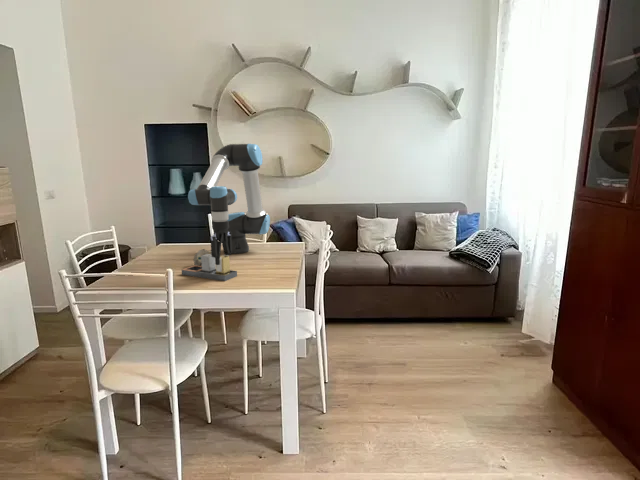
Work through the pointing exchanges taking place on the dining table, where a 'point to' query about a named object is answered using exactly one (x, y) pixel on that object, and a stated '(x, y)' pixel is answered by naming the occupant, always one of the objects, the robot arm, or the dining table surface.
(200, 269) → the grey block rack
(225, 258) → the tan rectangular block
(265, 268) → the dining table surface
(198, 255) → the rock
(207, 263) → the grey square-ended block
